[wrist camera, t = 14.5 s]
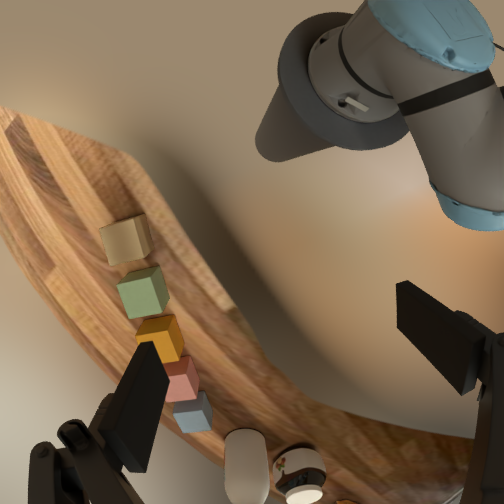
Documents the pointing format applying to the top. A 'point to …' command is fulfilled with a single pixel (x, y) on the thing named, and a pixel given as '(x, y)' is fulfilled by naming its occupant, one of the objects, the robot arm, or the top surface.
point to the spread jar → (299, 475)
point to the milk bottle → (246, 467)
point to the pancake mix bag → (345, 502)
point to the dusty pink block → (182, 380)
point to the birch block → (127, 240)
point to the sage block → (143, 292)
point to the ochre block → (162, 337)
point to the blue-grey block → (194, 414)
